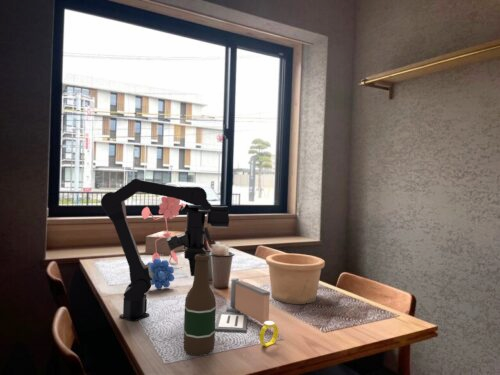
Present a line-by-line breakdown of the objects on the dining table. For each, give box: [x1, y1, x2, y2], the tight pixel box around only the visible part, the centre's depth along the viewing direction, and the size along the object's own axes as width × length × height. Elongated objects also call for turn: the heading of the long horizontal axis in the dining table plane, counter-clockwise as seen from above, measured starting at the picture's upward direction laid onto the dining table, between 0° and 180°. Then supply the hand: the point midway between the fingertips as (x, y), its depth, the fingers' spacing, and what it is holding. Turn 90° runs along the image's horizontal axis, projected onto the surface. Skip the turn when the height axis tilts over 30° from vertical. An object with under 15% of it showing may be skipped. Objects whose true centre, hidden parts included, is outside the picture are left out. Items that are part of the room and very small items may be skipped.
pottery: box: [265, 253, 326, 305], centre depth 142 cm, size 22×22×14 cm
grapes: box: [146, 258, 175, 290], centre depth 145 cm, size 12×7×12 cm, turn 118°
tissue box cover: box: [144, 230, 185, 256], centre depth 223 cm, size 26×14×10 cm, turn 171°
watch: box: [259, 320, 279, 348], centre depth 100 cm, size 6×3×6 cm, turn 135°
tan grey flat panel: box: [229, 277, 271, 325], centre depth 118 cm, size 18×2×9 cm, turn 36°
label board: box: [215, 304, 248, 333], centre depth 117 cm, size 20×9×1 cm, turn 179°
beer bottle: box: [183, 253, 217, 357], centre depth 95 cm, size 8×8×24 cm
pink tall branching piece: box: [141, 196, 186, 270], centre depth 184 cm, size 15×26×35 cm, turn 132°
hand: (192, 275), depth 119 cm, fingers closed
